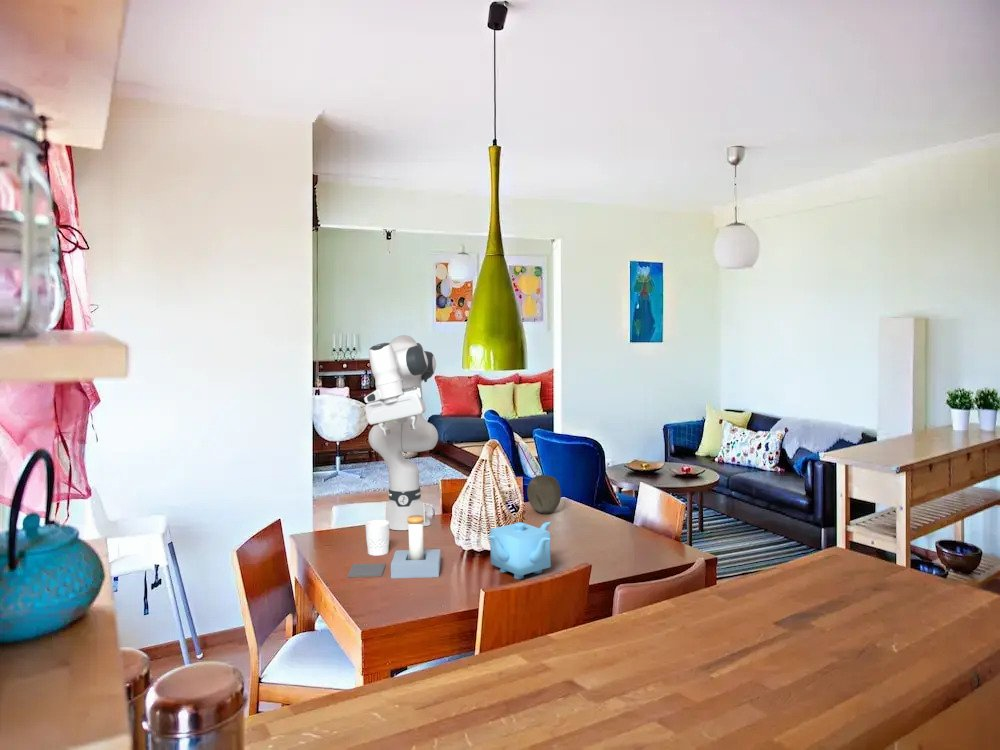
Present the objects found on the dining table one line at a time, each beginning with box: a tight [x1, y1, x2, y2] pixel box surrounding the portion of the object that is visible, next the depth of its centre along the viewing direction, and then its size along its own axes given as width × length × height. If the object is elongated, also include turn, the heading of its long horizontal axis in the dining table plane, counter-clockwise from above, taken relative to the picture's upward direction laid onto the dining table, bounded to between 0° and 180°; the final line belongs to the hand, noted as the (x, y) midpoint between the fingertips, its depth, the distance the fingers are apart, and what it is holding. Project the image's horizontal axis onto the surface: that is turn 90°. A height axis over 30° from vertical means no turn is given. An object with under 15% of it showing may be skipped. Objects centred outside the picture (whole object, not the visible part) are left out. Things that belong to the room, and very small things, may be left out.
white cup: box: [364, 519, 390, 557], centre depth 228 cm, size 8×8×10 cm
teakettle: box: [486, 521, 552, 580], centre depth 208 cm, size 19×19×15 cm
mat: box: [347, 562, 387, 578], centre depth 211 cm, size 10×10×1 cm
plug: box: [407, 515, 425, 560], centre depth 211 cm, size 5×5×16 cm
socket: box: [390, 548, 442, 579], centre depth 211 cm, size 14×14×4 cm
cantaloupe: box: [526, 474, 562, 515], centre depth 277 cm, size 14×14×15 cm
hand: (400, 432), depth 230 cm, fingers open, 8 cm apart
